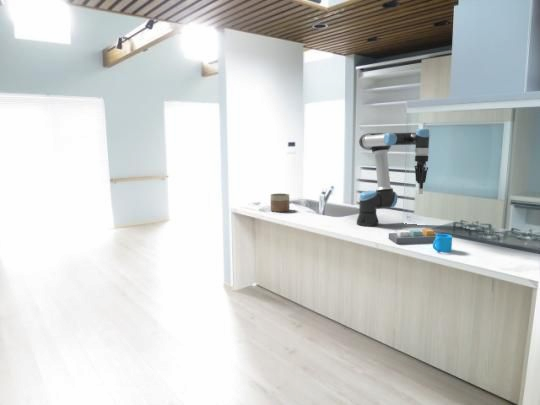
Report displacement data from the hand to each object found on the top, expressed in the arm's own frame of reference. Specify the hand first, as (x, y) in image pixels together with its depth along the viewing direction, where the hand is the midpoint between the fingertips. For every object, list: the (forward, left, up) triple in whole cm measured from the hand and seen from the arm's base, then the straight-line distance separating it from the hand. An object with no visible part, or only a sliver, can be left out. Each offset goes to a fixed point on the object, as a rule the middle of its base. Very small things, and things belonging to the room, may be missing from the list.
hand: (419, 193), depth 243 cm
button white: (+11, -15, -24) cm, 31 cm away
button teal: (+11, -7, -24) cm, 28 cm away
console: (+11, -7, -26) cm, 29 cm away
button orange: (+11, +1, -24) cm, 27 cm away
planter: (-98, -75, -27) cm, 126 cm away
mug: (+33, -3, -27) cm, 43 cm away
